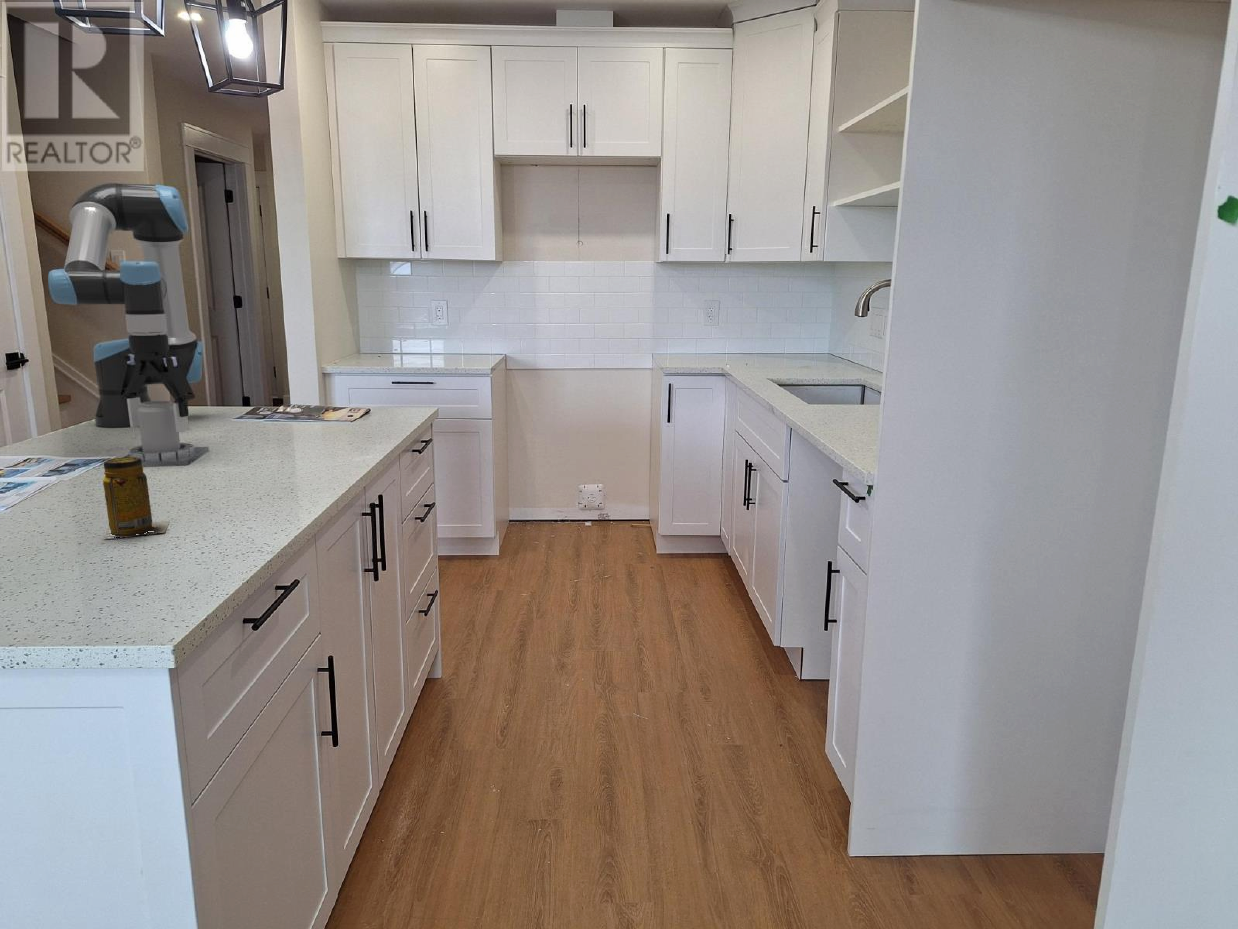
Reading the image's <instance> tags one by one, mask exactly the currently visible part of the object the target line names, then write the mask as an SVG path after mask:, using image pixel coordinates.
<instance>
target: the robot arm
mask: <svg viewBox="0 0 1238 929" xmlns="http://www.w3.org/2000/svg"><path fill="white" fill-rule="evenodd" d="M69 222H70V224H71V225H72V228H71V232H70V237H69V243H68V248H67V253H66V256H65V257H66V258H65V262H64V266H63V268H59V269H53V270H50V271H49V272H48V276H47V277H48V278H47V281H48V289H49V293H50V296H51V299H52V301H54V303H56V304H59V305H73V306H77V305H79V306H80V305H124V309H125V311H124V312H125V314H124V315H125V323H126V332H127V333H129V336H128V337H127V338H122V339H121V338H120V339H116V340H115V339H114V340H109V341H104V342H103V341H102V342H99V343H97V344H95V345H94V346H93V363H94V369H95V372H96V374H95V375H96V380H97V389H98V396H99V397H98V398H99V399H98V402H97V407H96V410H95V413H94V414H95V416H94V421H95V423H94V424H95V426H97V427H100V428H102V427H103V428H125V427H127V428H128V427H130V428H138V427H140V425H139V417H138V410H139V409H140V407H141V405H140V404H141V403H143V402H149V401H152V399H151V397H150V396H149V392H148V391H149V390H148V385H164V387H165V388H166V390H167V391H168V392H169V394H170V395H171V396H172V398H173V400H174V401H173V402H172V405H173V408H174V416H175V425H176V432H179V433H182V432H186V431H190V426H189V418H188V417H189V415H190V414H189V405H188V402H189V401H190V400H194V399H195V398H196V397H195V393H194V392H193V389H192V388H191V385H190V383H191V384H193V383H199V381H200V380H202V376H203V358H204V357H203V355H204V353H203V349H204V348H203V347H204V344H203V342H202V341H200V340H197V335H196V334H195V333H194V332H192V331H191V330H190V325H189V319H188V310H187V304H186V303H187V302H186V296H185V287H184V280H183V279H184V278H183V272H182V265H181V257H180V249H179V244H181V243H182V242H183V241H184V238H185V237H184V234H186V233H188V232H189V224H188V219H187V213H186V209H185V205H184V202H183V199H182V196H181V194H180V191H178V189H177V188H175V187H174V186H169V185H162V184H161V185H160V184H149V183H148V184H147V183H146V184H145V183H143V184H142V183H117V182H106V183H102V184H99V185H96V186H92V187H91V188H89V189H87V190H86V191H84V192H83V193H82V194H80V195H79V197H77V198H76V199H75V201H74V202H73V203H72V205H71V209H70V212H69ZM115 231H121V232H122V231H123V232H132V236H133V240H134V241H136V242H137V243H139V245H140V246H141V252H142V258H143V261H134V260H133V261H132V260H131V261H130V260H129V261H127V260H125V261H122V262H120V264H119V270H118V269H117V270H116V269H105V268H106V262H107V255H108V246H109V243H110V242H109V241H110V236H111V235H112V234H113V233H114V232H115Z"/></svg>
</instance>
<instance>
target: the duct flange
mask: <svg viewBox="0 0 1238 929" xmlns="http://www.w3.org/2000/svg"><path fill="white" fill-rule="evenodd" d="M180 448H181V449H179V450H174V451H167V452H151V453H147V452H143V450H142V445H139V446H135V447H132V448H130V449H129V450H128V453H129V454H127V455H125V456H124V457H137V458H140V459H141V461H142V467H165V466H166V467H168V466H169V467H171V466H174V467H175V465H176V466H188V465H190V464H192V463H193V462H195V461H196V460H198V459H199V458H201V457H202V456H203V454H204V453H205V454H206V452H207V453H208V452H210V450H209V449H210V448H209V446H195V445H194V444H192V443H188V442H181V441H180ZM205 454H204V455H205ZM201 455H202V456H201ZM200 456H201V457H200ZM197 458H198V459H197ZM195 459H196V460H195ZM194 460H195V461H194ZM191 462H192V463H191Z"/></svg>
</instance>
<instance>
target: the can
mask: <svg viewBox="0 0 1238 929" xmlns="http://www.w3.org/2000/svg"><path fill="white" fill-rule="evenodd" d="M140 405H141V407H140V409H139V410H138V417H139V425H140V426H139V432H140V438H141V439H140V440H141V441H140V442H141V446H142V450H143V452H147V453H151V452H167V451H174V450H179V449H181V448H180V442H181V441H180V432H176V425H175V416H174V408H173V401H170V400H151V401H149V402H143V403H141V404H140Z"/></svg>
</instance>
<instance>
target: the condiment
mask: <svg viewBox="0 0 1238 929" xmlns="http://www.w3.org/2000/svg"><path fill="white" fill-rule="evenodd" d="M103 469H104V471H103V472H104V475H105V476H104V478H103V480H102V485H103V489H104V497H105V503H106V512H107V518H108V519H107V520H108V527H109V531H111V533H107V534H112V535H115V536H110V535H109V536H106V535H105V537H104V538H103V540H109V539H110V540H111V539H113V538H108V537H115V538H114V539H117V538H116V537H120V538H119V539H121V538H122V537H125V538H132V537H137V536H141V535H142V536H143V535H144V536H146V535H155V534H163V533H166V532H167V530H168V528H169V524H170V520H166V521H165V520H164V521H154V522H153V515H152V509H151V508H152V507H151V501H150V494H149V484H148V478H147V475H146V474H145V473H144V466H142V461H141V459H140V458H137V457H125V456H123V457H114V458H109V459H107V460H105V461H104V462H103ZM109 531H108V532H109ZM148 531H154V532H148ZM146 532H147V534H144V533H146ZM136 534H140V535H136ZM122 539H123V538H122Z"/></svg>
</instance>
